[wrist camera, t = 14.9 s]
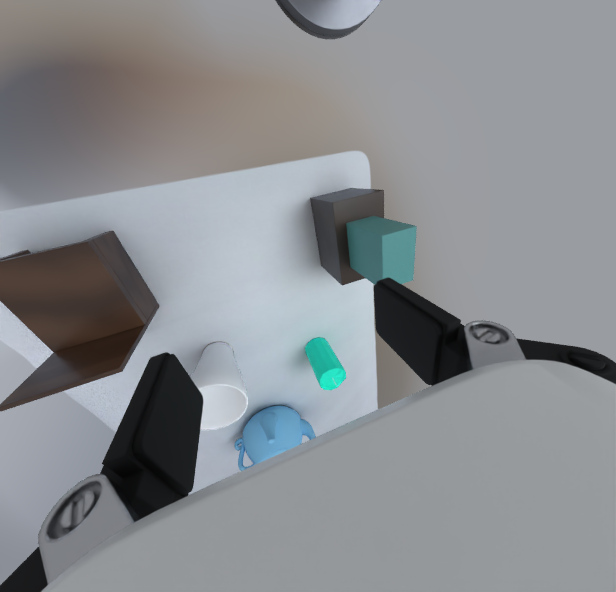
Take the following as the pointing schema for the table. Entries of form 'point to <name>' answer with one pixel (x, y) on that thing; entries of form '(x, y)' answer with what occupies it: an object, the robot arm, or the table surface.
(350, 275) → the dark brown box
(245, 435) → the teapot
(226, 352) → the cup
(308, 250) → the table surface
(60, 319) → the shelf
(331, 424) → the table surface
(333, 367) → the candle
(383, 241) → the block
